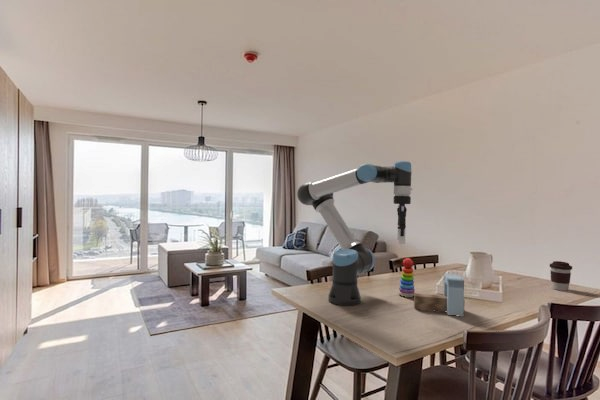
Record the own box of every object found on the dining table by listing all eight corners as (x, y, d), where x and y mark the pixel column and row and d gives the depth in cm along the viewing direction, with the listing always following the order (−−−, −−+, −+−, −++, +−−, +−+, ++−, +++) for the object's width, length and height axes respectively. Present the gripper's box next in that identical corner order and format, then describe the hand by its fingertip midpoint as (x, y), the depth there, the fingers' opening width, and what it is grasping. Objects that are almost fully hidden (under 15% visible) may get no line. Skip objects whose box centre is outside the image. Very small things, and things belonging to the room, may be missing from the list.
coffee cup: (576, 292, 183) (577, 264, 183) (557, 291, 183) (558, 263, 183) (562, 287, 193) (563, 260, 193) (544, 286, 193) (545, 260, 193)
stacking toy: (396, 296, 170) (397, 258, 169) (400, 292, 177) (401, 256, 176) (413, 298, 166) (414, 260, 166) (416, 294, 173) (417, 257, 173)
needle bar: (414, 309, 150) (415, 295, 150) (414, 306, 154) (414, 293, 154) (464, 314, 146) (464, 300, 146) (462, 311, 149) (462, 297, 149)
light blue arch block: (447, 315, 143) (448, 279, 143) (442, 306, 155) (443, 273, 155) (463, 316, 142) (464, 280, 142) (457, 307, 154) (458, 274, 153)
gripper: (412, 195, 144) (411, 245, 144) (408, 195, 168) (407, 238, 168) (394, 195, 146) (393, 244, 146) (393, 195, 170) (392, 237, 170)
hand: (401, 241), depth 157 cm, fingers open, 13 cm apart
